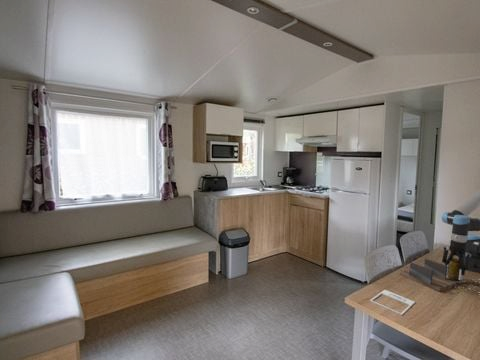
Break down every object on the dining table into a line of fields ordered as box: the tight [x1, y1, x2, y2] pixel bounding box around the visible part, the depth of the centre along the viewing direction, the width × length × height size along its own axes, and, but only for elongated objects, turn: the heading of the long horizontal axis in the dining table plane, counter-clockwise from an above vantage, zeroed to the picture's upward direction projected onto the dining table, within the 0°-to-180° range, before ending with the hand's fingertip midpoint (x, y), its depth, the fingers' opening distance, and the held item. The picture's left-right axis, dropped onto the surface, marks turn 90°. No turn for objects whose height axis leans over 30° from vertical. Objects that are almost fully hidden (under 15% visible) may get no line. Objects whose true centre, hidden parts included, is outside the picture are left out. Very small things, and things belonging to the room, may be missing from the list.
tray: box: [399, 258, 457, 293], centre depth 161 cm, size 18×22×10 cm
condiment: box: [446, 257, 467, 284], centre depth 163 cm, size 7×8×12 cm
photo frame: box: [369, 289, 415, 316], centre depth 135 cm, size 15×1×18 cm
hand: (453, 277), depth 164 cm, fingers closed on condiment, 6 cm apart
